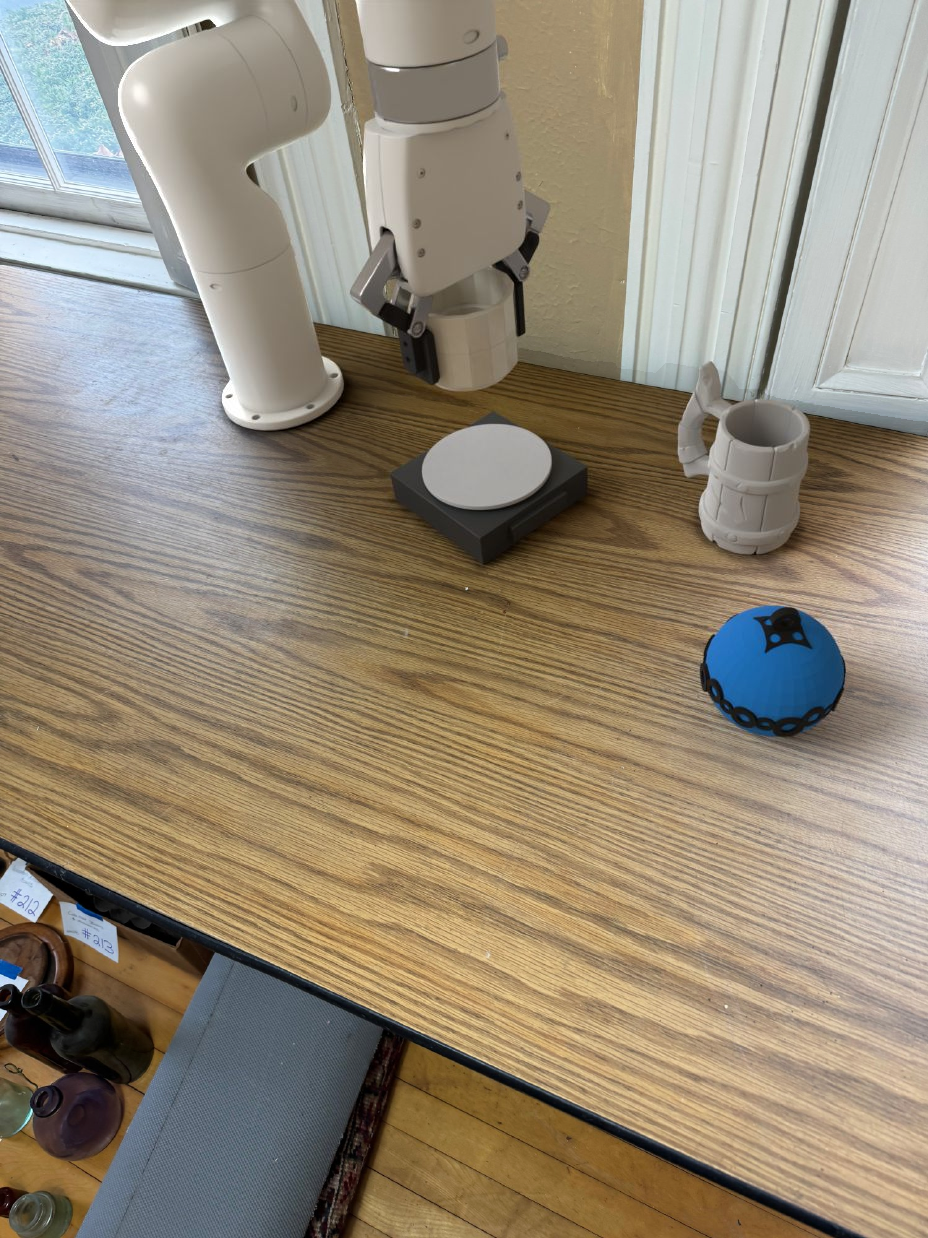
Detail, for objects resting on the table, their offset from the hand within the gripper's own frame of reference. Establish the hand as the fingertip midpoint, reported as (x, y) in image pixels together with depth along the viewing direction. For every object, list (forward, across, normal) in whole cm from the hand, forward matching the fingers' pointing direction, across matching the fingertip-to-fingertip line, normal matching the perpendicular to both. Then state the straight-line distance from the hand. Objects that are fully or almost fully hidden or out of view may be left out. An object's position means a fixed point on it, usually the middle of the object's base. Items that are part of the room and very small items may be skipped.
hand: (466, 351), depth 63 cm
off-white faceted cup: (+1, 0, 0) cm, 1 cm away
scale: (+15, -1, -1) cm, 15 cm away
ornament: (+15, +1, +29) cm, 33 cm away
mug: (+15, -13, +15) cm, 25 cm away
